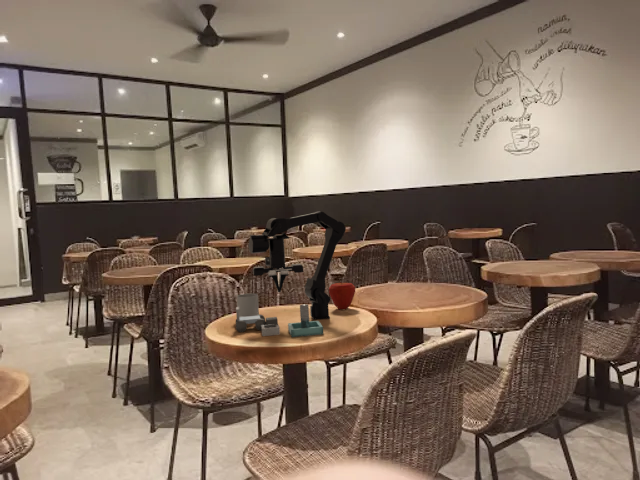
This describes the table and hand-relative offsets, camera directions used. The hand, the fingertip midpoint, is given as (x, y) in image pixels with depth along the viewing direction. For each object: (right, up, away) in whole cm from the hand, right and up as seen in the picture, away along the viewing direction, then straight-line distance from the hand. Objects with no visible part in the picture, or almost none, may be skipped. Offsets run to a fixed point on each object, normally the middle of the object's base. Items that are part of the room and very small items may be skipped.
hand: (279, 292), depth 184 cm
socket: (-2, -13, -14) cm, 19 cm away
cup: (-13, -12, +10) cm, 20 cm away
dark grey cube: (-2, -13, -8) cm, 15 cm away
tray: (+10, -12, -15) cm, 22 cm away
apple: (+25, -10, +22) cm, 35 cm away
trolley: (-9, -13, -5) cm, 17 cm away
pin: (+10, -12, -15) cm, 22 cm away
